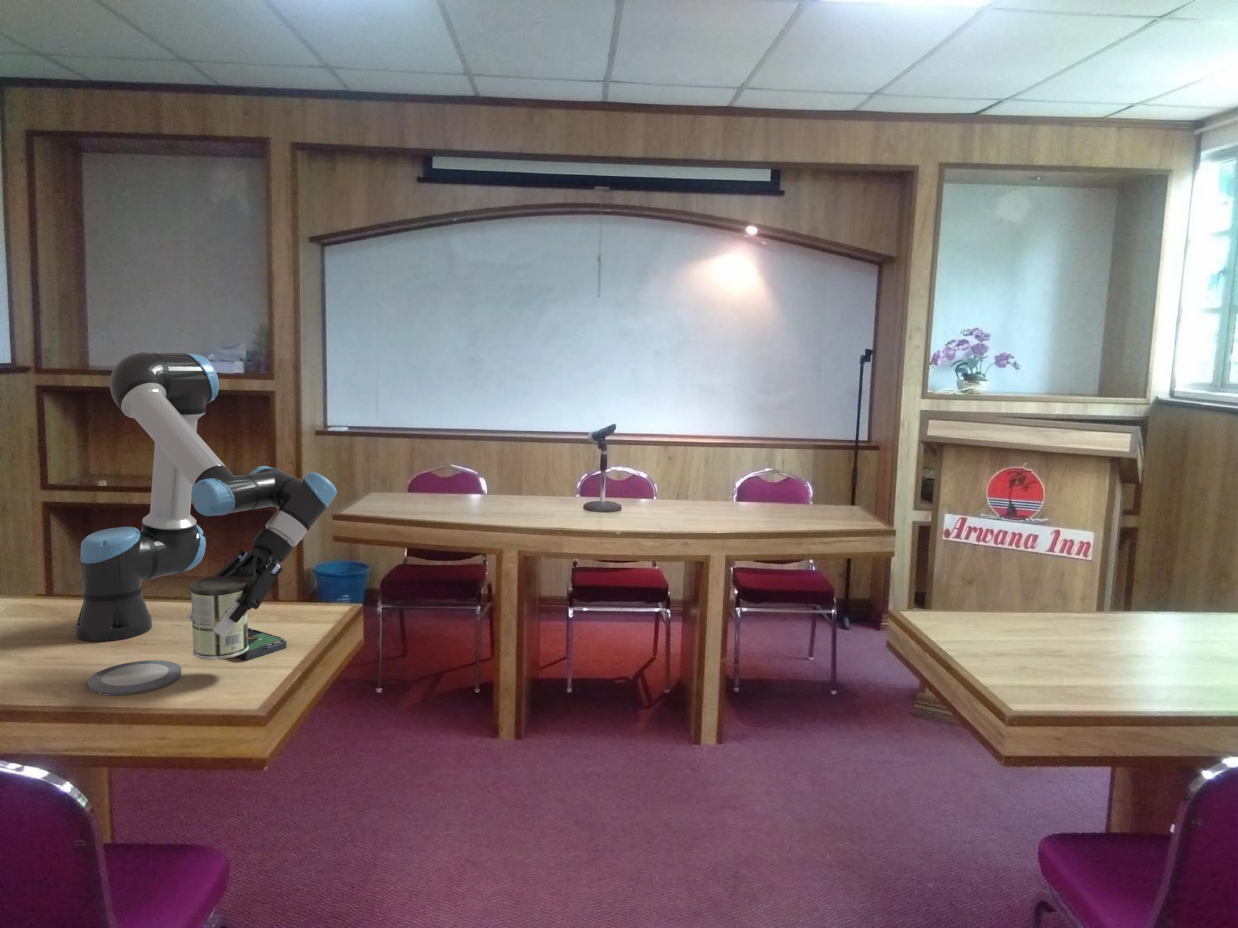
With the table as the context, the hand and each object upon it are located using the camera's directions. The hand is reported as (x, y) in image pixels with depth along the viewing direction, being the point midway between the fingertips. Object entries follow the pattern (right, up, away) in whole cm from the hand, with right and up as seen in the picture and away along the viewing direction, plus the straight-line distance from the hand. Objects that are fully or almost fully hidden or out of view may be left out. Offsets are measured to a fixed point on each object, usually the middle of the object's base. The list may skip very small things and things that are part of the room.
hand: (205, 627), depth 167 cm
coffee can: (+2, -5, +3) cm, 6 cm away
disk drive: (-1, -9, +21) cm, 23 cm away
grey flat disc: (-14, -10, +1) cm, 18 cm away
